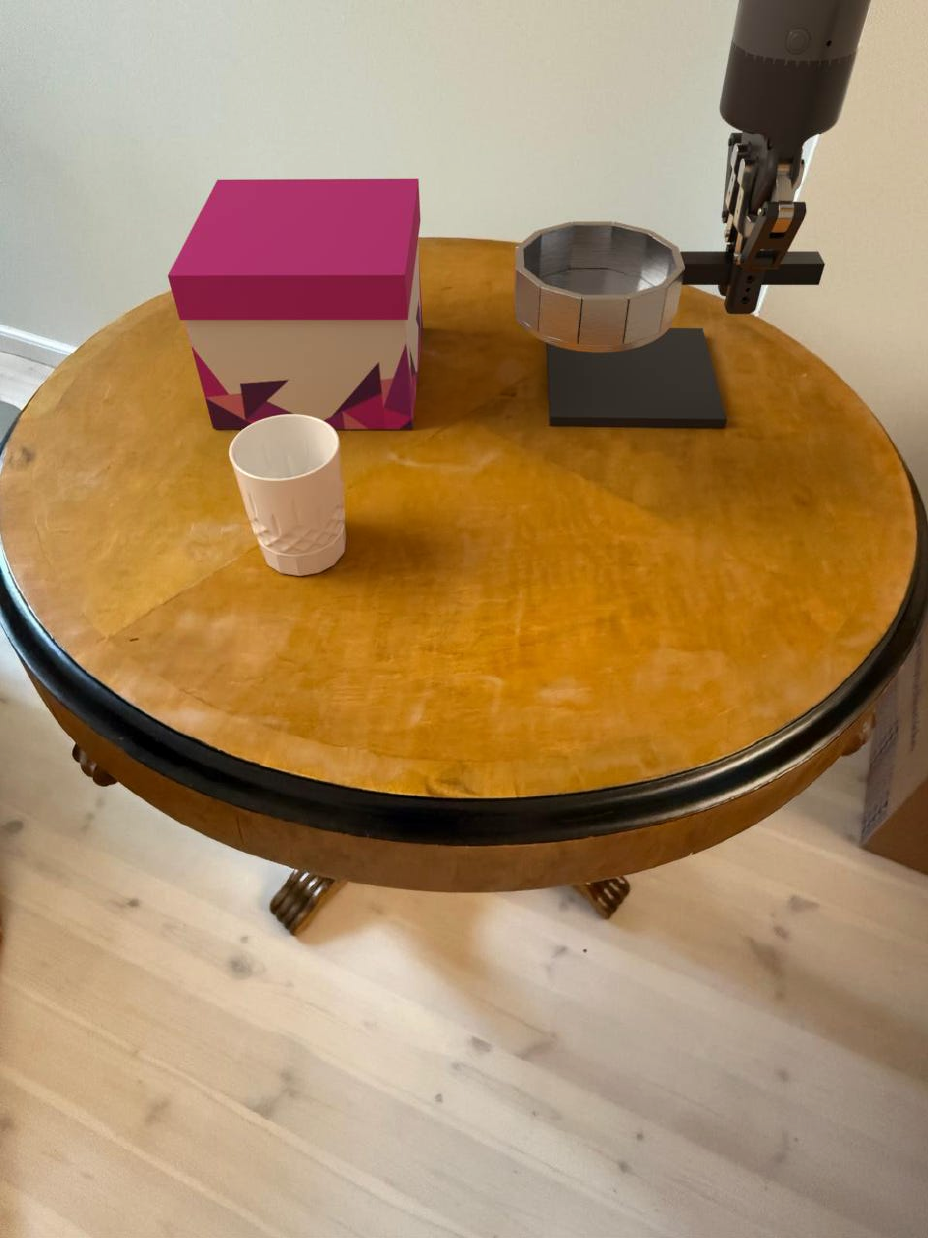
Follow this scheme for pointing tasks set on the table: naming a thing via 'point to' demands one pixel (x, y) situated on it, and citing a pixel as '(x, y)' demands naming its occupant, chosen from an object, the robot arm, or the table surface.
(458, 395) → the table surface
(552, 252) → the steel pan
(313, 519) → the white cup
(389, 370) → the decorative box
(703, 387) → the trivet
